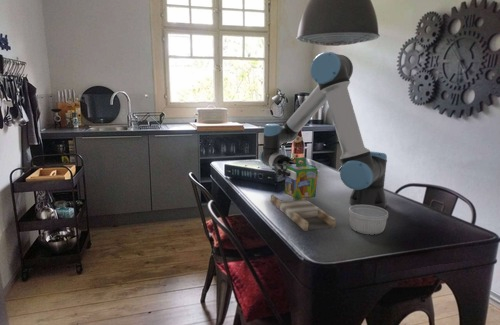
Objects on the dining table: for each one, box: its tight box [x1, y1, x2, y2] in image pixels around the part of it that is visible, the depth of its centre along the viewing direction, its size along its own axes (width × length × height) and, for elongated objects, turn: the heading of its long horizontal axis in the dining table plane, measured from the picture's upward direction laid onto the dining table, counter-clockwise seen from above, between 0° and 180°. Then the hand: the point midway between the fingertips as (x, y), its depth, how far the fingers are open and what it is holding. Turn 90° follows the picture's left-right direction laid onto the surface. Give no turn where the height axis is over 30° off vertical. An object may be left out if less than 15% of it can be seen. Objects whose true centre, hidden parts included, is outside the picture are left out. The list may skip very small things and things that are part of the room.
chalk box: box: [284, 156, 318, 199], centre depth 134 cm, size 9×9×15 cm
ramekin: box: [348, 205, 389, 236], centre depth 122 cm, size 13×13×7 cm
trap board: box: [270, 194, 337, 232], centre depth 137 cm, size 33×12×3 cm, turn 18°
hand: (307, 175), depth 129 cm, fingers closed on chalk box, 9 cm apart
